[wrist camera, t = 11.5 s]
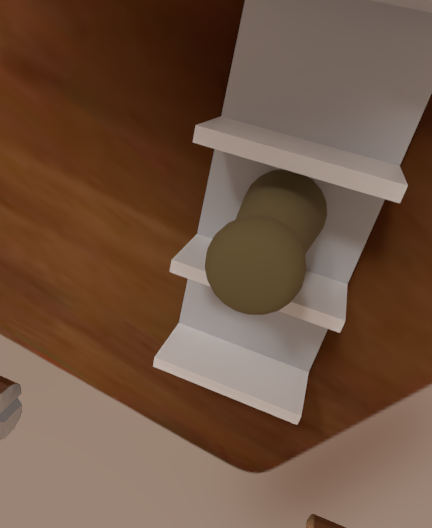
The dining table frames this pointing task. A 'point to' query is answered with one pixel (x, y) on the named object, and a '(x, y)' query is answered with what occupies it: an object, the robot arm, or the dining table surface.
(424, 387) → the dining table surface
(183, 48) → the dining table surface
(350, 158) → the slot rack
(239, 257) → the cork
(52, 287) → the dining table surface
